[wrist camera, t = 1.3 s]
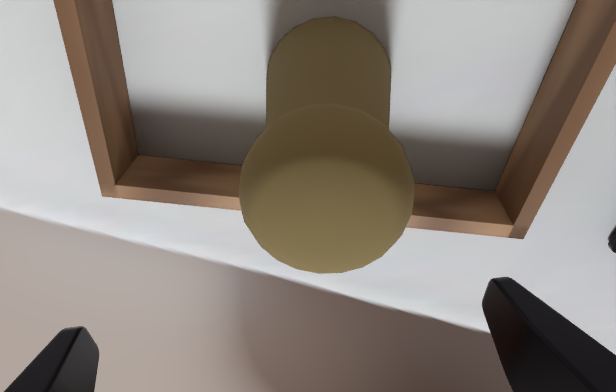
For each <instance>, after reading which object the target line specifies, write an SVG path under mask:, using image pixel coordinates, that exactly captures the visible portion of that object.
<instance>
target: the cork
mask: <svg viewBox="0 0 616 392" xmlns="http://www.w3.org/2000/svg"><path fill="white" fill-rule="evenodd" d="M390 91H391V67H390V64H389V61H388V57H387V54H386V51H385V49H384V48H383V46H382V45H381V44H380V42H379V41H378V40H377V38H376V37H375V36H374V34H373V33H371V32H370V31H368V30H367V29H365V28H364V27H362V26H361V25H359V24H358V23H356V22H354V21H350V20H346V19H342V18H338V17H326V18H314V19H312V20H309V21H307V22H305V23H303V24H300V25H298V26H296V27H294V28H293V29H292V30H291V31H290V32H289V33H288V34H286V35H285V36H284V37H283V38H282V39H281V40H280V41H279V43H278V44H277V46H276V48H275V50H274V52H273V54H272V56H271V57H270V60H269V66H268V72H267V78H266V129H265V130H264V131H263V132H262V133H260V134H259V135H258V136H257V138H256V140H255V142H254V143H253V145H252V147H251V148H250V150H249V152H248V154H247V155H246V157H245V160H244V162H243V165H242V169H241V176H240V182H239V189H238V190H239V201H240V205H241V210H242V214H243V218H244V222H245V223H246V225H247V227H248V228H249V230H250V231H251V233H252V234H253V236H254V237H255V239H256V240H257V242H258V243H259V244H260V246H261V247H262V248H263V249H264V250H266V251H267V252H268V253H269V254H270V255H272V256H273V257H274V258H275V259H277V260H278V261H280V262H282V263H285V264H287V265H289V266H291V267H293V268H296V269H299V270H304V271H309V272H314V273H342V272H346V271H350V270H354V269H358V268H361V267H364V266H366V265H367V264H369V263H371V262H373V261H375V260H376V259H378V258H380V257H382V256H383V255H384V254H385V253H386V252H387V251H388V250H389V249H390V248H391V247H392V245H393V244H394V243H395V242H396V241H397V240H398V239H399V238H400V236H401V235H402V234H403V232H404V230H405V227H406V225H407V223H408V221H409V219H410V217H411V215H412V208H413V199H414V184H415V180H414V177H413V174H412V171H411V168H410V165H409V162H408V159H407V156H406V153H405V150H404V147H403V146H402V145H401V144H400V142H399V141H398V140H397V139H396V138H395V136H394V135H393V134H392V133H391V132H390V130H389V116H390Z"/></svg>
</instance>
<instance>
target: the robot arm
mask: <svg viewBox="0 0 616 392" xmlns="http://www.w3.org/2000/svg"><path fill="white" fill-rule="evenodd" d="M608 246H609V247H610V249H611V250H612V251H613V252H614V253H616V232H615V234H614V235H613V237H612V238H611V240H610V241H609V243H608ZM482 308H483V312H484V315H485V318H486V321H487V323H488V326H489V329H490V332H491V335H492V338H493V341H494V344H495V347H496V350H497V353H498V355H499V358H500V361H501V364H502V367H503V370H504V372H505V375H506V376H507V379H508V382H509V384H510V386H511V388H512V390H513V392H616V355H615V354H613V353H612V352H611V351H609V350H608V349H607V348H605V347H604V346H602V345H601V344H600V343H598V342H597V341H596V340H594V339H593V338H592V337H590V336H589V335H588V334H586V333H585V332H584V331H582V330H581V329H579V328H578V327H577V326H575V325H574V324H573V323H571V322H570V321H569V320H567V319H566V318H565V317H563V316H562V315H561V314H559V313H558V312H557V311H555V310H554V309H552V308H551V307H550V306H548V305H547V304H546V303H544V302H543V301H542V300H540V299H539V298H538V297H536V296H535V295H534V294H532V293H531V292H530V291H528V290H527V289H525V288H524V287H523V286H521V285H520V284H519V283H517V282H516V281H515V280H513V279H512V278H509V277H500V278H493V279H491V280H490V281H489V283H488V286H487V289H486V291H485V294H484V297H483V300H482ZM98 361H99V349H98V346H97V344H96V343H95V342H94V340H93V338H92V337H91V335H90V334H89V332H88V331H87V329H86V328H85V327H83V326H78V327H70V328H65V329H63V330H61V331H60V332H59V333H58V334H57V335H56V336H55V337H54V338H53V339H52V340H51V342H50V343H49V344H48V345H47V346H46V347H45V348H44V349H43V350H42V351H41V352H40V353H39V354H38V355H37V357H36V358H35V359H34V360H33V361H32V362H31V363H30V364H29V365H28V366H27V367H26V369H25V370H24V371H23V372H22V373H21V374H20V375H19V376H18V377H17V378H16V379H15V380H14V381H13V382H12V384H11V385H10V386H9V387H8V388H7V389H6V390H5V391H4V392H94V389H95V381H96V375H97V368H98Z"/></svg>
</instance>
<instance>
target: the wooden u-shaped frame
mask: <svg viewBox="0 0 616 392" xmlns="http://www.w3.org/2000/svg"><path fill="white" fill-rule="evenodd" d="M54 4H55V8H56V12H57V16H58V20H59V24H60V28H61V32H62V36H63V41H64V45H65V49H66V53H67V57H68V61H69V65H70V69H71V73H72V77H73V81H74V85H75V89H76V93H77V97H78V101H79V105H80V109H81V113H82V117H83V121H84V125H85V129H86V133H87V137H88V141H89V145H90V149H91V153H92V157H93V161H94V165H95V169H96V173H97V177H98V181H99V185H100V189H101V193H102V196H103V197H113V198H123V199H133V200H142V201H152V202H162V203H172V204H182V205H192V206H202V207H211V208H221V209H231V210H241V205H240V201H239V190H238V189H239V182H240V176H241V169H242V166H241V165H231V164H222V163H212V162H202V161H192V160H183V159H173V158H163V157H154V156H144V155H138V150H137V144H136V138H135V132H134V126H133V121H132V115H131V109H130V103H129V97H128V92H127V86H126V80H125V74H124V68H123V63H122V57H121V51H120V45H119V40H118V34H117V28H116V22H115V16H114V11H113V5H112V0H54ZM615 64H616V0H577V3H576V5H575V7H574V9H573V12H572V14H571V16H570V19H569V21H568V23H567V26H566V28H565V30H564V33H563V35H562V37H561V39H560V42H559V44H558V46H557V49H556V51H555V53H554V56H553V58H552V60H551V63H550V65H549V67H548V69H547V72H546V74H545V76H544V79H543V81H542V83H541V86H540V88H539V90H538V93H537V95H536V97H535V99H534V102H533V104H532V106H531V109H530V111H529V113H528V116H527V118H526V120H525V122H524V125H523V127H522V129H521V132H520V134H519V136H518V139H517V141H516V143H515V146H514V148H513V150H512V152H511V155H510V157H509V159H508V162H507V164H506V166H505V169H504V171H503V173H502V176H501V178H500V180H499V182H498V185H497V187H496V189H495V192H494V191H484V190H474V189H465V188H455V187H445V186H435V185H426V184H416V183H415V184H414V199H413V208H412V215H411V217H410V219H409V221H408V223H407V225H406V227H408V228H418V229H428V230H438V231H448V232H458V233H468V234H477V235H487V236H497V237H507V238H517V239H524V237H525V235H526V233H527V231H528V229H529V227H530V225H531V223H532V221H533V220H534V218H535V216H536V214H537V212H538V210H539V208H540V206H541V204H542V202H543V201H544V199H545V197H546V195H547V193H548V191H549V189H550V187H551V185H552V183H553V182H554V180H555V178H556V176H557V174H558V172H559V170H560V168H561V166H562V164H563V163H564V161H565V159H566V157H567V155H568V153H569V151H570V149H571V147H572V146H573V144H574V142H575V140H576V138H577V136H578V134H579V132H580V130H581V128H582V127H583V125H584V123H585V121H586V119H587V117H588V115H589V113H590V111H591V109H592V108H593V106H594V104H595V102H596V100H597V98H598V96H599V94H600V92H601V90H602V89H603V87H604V85H605V83H606V81H607V79H608V77H609V75H610V73H611V71H612V70H613V68H614V66H615ZM241 211H242V210H241Z"/></svg>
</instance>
